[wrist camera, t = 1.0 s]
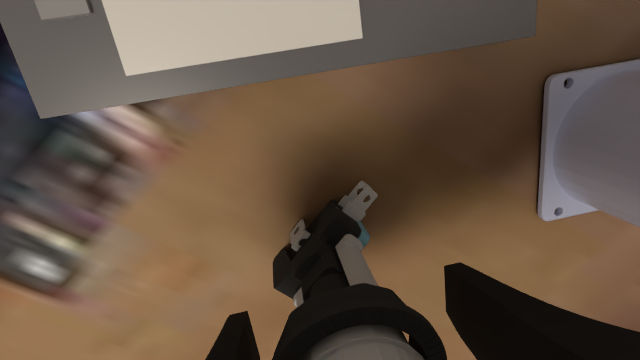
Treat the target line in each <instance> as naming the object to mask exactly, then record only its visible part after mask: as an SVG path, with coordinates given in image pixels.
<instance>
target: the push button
mask: <svg viewBox="0 0 640 360" xmlns="http://www.w3.org/2000/svg"><path fill="white" fill-rule="evenodd" d="M360 188H363V190H362V191H361V192H360V194H359V195H358V194H357V191H358V189H360ZM368 195H369V196H370V199H369V201H367V202H363V200H364V199H365V198H366V197H367V196H368ZM377 197H378V195H377V193H376V192H374V191H373V190H372V187H370V186H369V185H368V184H366V183H365V182H364V181H360V182H359V183H358V184H357V185H356V187H355V188H354V189H353V190H352V191H351V193H350V194H349V195H348V196H346V195H345V196H344V197H343V198H342V199H341V200H340V202H339V203H338V202H336V201H335V200H334V199H332V200H331V201H330V202H329V203H328V204H327V205H326V207H325V208H324V209H323V210H322V211H321V213H320V214H319V215H318V216H317V218H316V219H315V220H314V221H313V222H312V224H311V225H310V226H309V227H308V229H307V230H305V229H306V227H305V223H304V220H303V219H302V220H300V221H299V222H298V224H297V225H296V226H295V227H294V229H293V230H292V231H291V233H290V242H291V245H292V246H291V249H290V251H289V252H288V251H286V250H285V249H282V250H281V251H280V252H279V254H278V255H277V256H276V257H275V259H274V261H273V283H274V289H276V290H278V291H280V292H281V293H283V294H285V295H287V296H288V297H290V298H292V299H293V300H294V305H295V306H296V307H297V308H296V309H295V310H294V311H292V312H291V314H290V315H289V317H288V320H287V322H286V325H285V327H284V330H283V332H282V335H281V337H280V340H279V342H278V345H277V347H276V350H275V352H274V356H273V358H272V360H447V356H446V351H445V348H444V345H443V343H442V341H441V339H440V337H439V336H438V334H437V332H436V331H435V329H434V328H433V326H432V325H431V324H430V323H429V321H428V320H427V319H426V318H425V317H424V316H422V315H421V314H420V313H418V312H417V311H415V310H414V309H412V308H410V307H408V306H406V305H405V304H404V303H403V301H402V300H401V299H400V298H399V297H398V296H397V295H396V294H395V293H394V292H393V291H392V290H390V289H387V288H383V287H379V286H378V285H377V283H376V281H375V279H374V277H373V275H372V273H371V271H370V269H369V267H368V265H367V263H366V261H365V259H364V257H363V255H362V254H361V251H362V249H363V248H364V247H365V246H366V245H367V243H368V242H369V239H370V235H369V233H368V232H367V230H366V229H365V227H364V226H363V224H362V222H361V220H362V219H363V218H364V216H365V215H366V213H365V211H366V210H367V208H368V207H369V206H370V205H371V204H372V203H373V201H374V200H375V199H376V198H377ZM299 227H300V228H299ZM298 228H299V230H298V232H297V233H296V234H295V232H296V230H297V229H298ZM402 331H404V332H405V333H407V334H409V342H407V340H406V338H405V336H404V334H403V332H402Z"/></svg>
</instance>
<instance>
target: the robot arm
mask: <svg viewBox="0 0 640 360" xmlns="http://www.w3.org/2000/svg"><path fill="white" fill-rule="evenodd" d="M566 79H567V84H566V86H565V87H564V81H565V80H566ZM556 209H557V210H556ZM555 210H556V212H555ZM597 210H601V211H603V212H605V213H608V214H610V215H612V216H615V217H617V218H619V219H622V220H624V221H626V222H628V223H631V224H633V225H635V226H638V227H640V59H636V60H631V61H625V62H620V63H614V64H608V65H603V66H597V67H592V68H586V69H580V70H575V71H569V72H564V73H558V74H554V75H551V76H550V77H549V78H548V79H547V80H546V82H545V88H544V106H543V124H542V142H541V160H540V178H539V196H538V216H539V218H541V219H543V220H545V221H552V220H556V219H561V218H565V217H570V216H574V215H579V214H584V213H588V212H593V211H597ZM444 273H445V296H446V312H447V314H448V316H449V318H450V320H451V321H452V323H453V325H454V327H455V328H456V330H457V332H458V334H459V335H460V337H461V338H462V340H463V341H464V342H465V344H466V345H467V347H468V348H469V349H470V351H471V352H472V353H473V355H474V356H475V357H476V359H477V360H640V332H637V331H633V330H629V329H625V328H621V327H618V326H614V325H611V324H607V323H604V322H600V321H597V320H594V319H590V318H587V317H584V316H581V315H578V314H575V313H573V312H570V311H567V310H564V309H561V308H559V307H556V306H553V305H551V304H548V303H546V302H544V301H541V300H539V299H536V298H534V297H532V296H529V295H527V294H525V293H523V292H520V291H518V290H516V289H514V288H512V287H510V286H508V285H506V284H503V283H501V282H499V281H497V280H495V279H493V278H491V277H489V276H487V275H485V274H483V273H481V272H479V271H477V270H475V269H473V268H471V267H469V266H467V265H465V264H463V263H460V262H459V263H455V264H451V265H446V266H444ZM205 360H260V356H259V352H258V348H257V344H256V341H255V337H254V333H253V330H252V326H251V322H250V319H249V315H248V311H245V312H241V313H236V314H232V315H229V317H228V318H227V320H226V322H225V324H224V326H223V328H222V330H221V332H220V334H219V336H218V338H217V340H216V341H215V343H214V345H213V347H212V349H211V351H210V352H209V354H208V356H207V358H206V359H205Z"/></svg>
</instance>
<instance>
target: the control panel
mask: <svg viewBox="0 0 640 360" xmlns="http://www.w3.org/2000/svg"><path fill="white" fill-rule="evenodd" d="M536 9H537V0H0V22H1V25H2V27H3V30H4V32H5V34H6V37H7V39H8V42H9V44H10V46H11V49H12V51H13V54H14V56H15V59H16V61H17V63H18V66H19V68H20V71H21V73H22V75H23V78H24V80H25V83H26V85H27V87H28V90H29V92H30V95H31V97H32V99H33V102H34V104H35V107H36V109H37V111H38V114H39V116H40V119H43V118H49V117H55V116H61V115H67V114H73V113H79V112H85V111H90V110H96V109H102V108H108V107H114V106H120V105H126V104H132V103H138V102H144V101H150V100H156V99H162V98H168V97H174V96H180V95H186V94H192V93H198V92H204V91H210V90H216V89H222V88H228V87H234V86H240V85H246V84H252V83H258V82H264V81H270V80H276V79H282V78H288V77H294V76H300V75H306V74H312V73H318V72H324V71H330V70H336V69H342V68H348V67H354V66H360V65H366V64H372V63H378V62H384V61H390V60H395V59H401V58H407V57H413V56H419V55H425V54H431V53H437V52H443V51H449V50H455V49H461V48H467V47H473V46H479V45H485V44H491V43H497V42H503V41H509V40H515V39H521V38H527V37H533V36H535V31H536Z"/></svg>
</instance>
